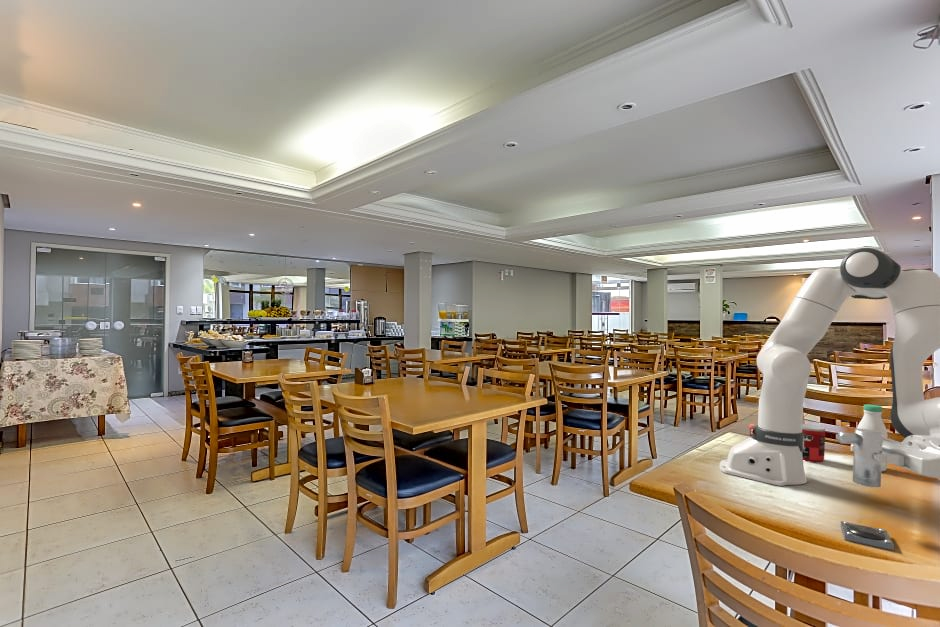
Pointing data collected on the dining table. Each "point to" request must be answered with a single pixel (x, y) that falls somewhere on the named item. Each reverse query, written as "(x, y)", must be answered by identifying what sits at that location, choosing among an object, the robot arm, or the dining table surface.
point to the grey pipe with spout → (865, 455)
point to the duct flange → (866, 535)
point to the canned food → (813, 443)
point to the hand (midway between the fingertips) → (863, 452)
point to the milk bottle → (873, 423)
